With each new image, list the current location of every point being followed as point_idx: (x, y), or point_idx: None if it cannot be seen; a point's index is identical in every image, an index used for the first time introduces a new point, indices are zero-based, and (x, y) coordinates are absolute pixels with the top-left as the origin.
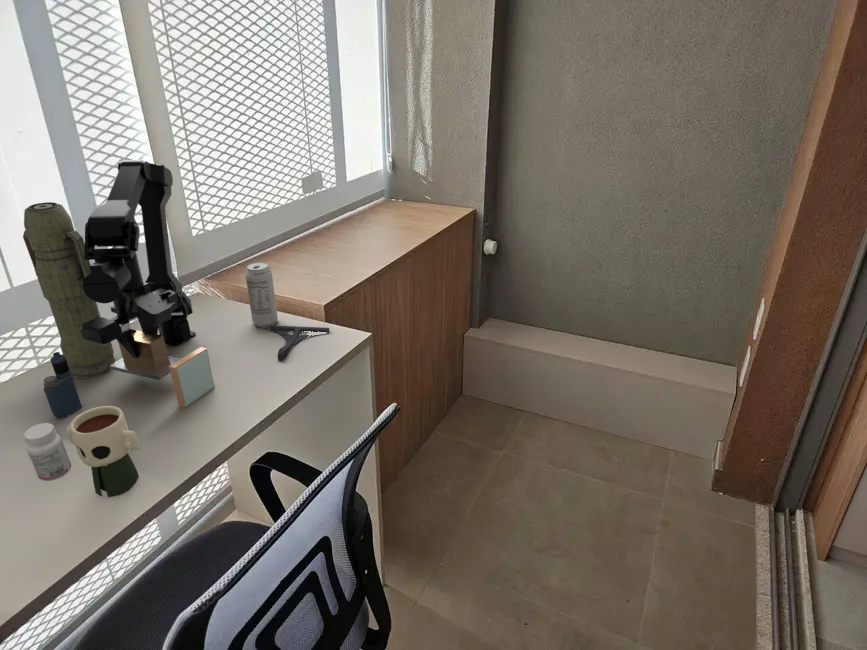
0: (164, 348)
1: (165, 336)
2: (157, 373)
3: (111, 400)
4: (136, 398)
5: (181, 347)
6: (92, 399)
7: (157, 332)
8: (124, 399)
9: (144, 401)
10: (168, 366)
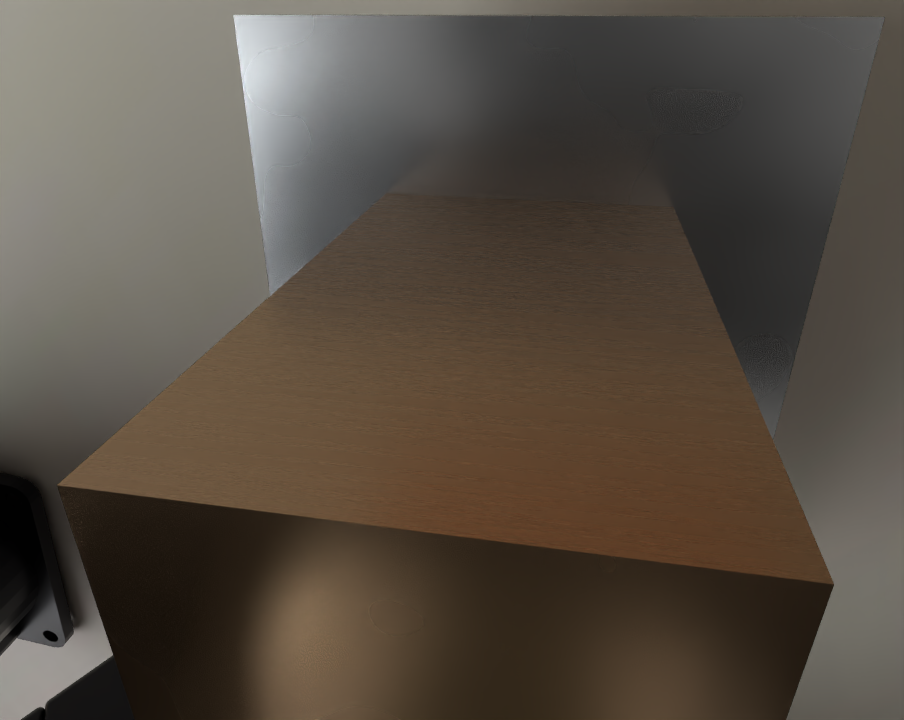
0: (328, 287)
1: (3, 598)
2: (771, 120)
3: (893, 479)
4: (835, 294)
5: (19, 433)
6: (889, 612)
7: (39, 708)
8: (865, 388)
9: (886, 176)
10: (515, 96)
